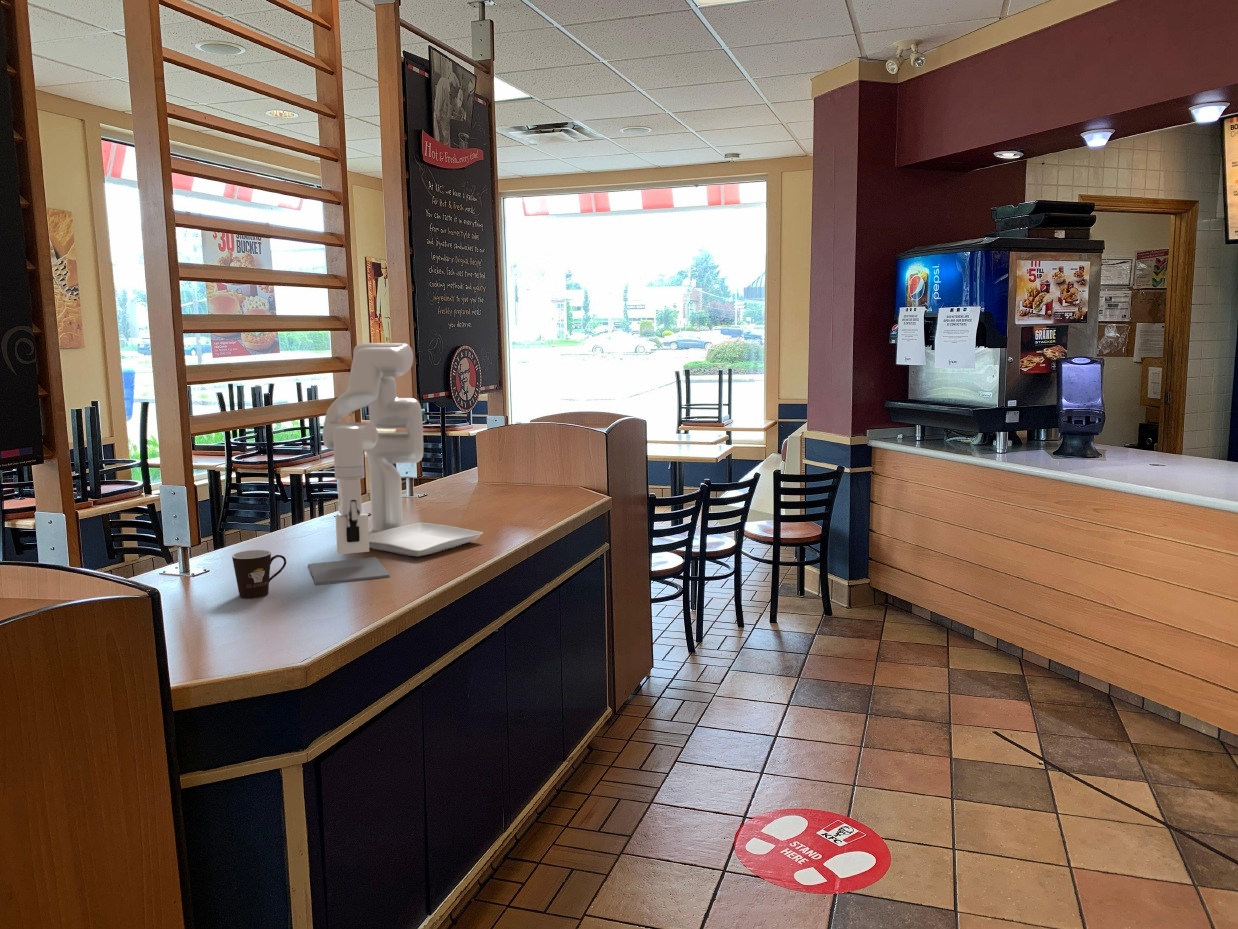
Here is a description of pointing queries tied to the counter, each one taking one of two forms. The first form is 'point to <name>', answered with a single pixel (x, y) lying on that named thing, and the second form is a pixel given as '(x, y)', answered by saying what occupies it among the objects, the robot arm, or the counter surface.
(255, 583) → the coffee mug
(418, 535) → the square plate
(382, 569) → the mat
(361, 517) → the tile
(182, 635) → the counter surface
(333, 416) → the robot arm
